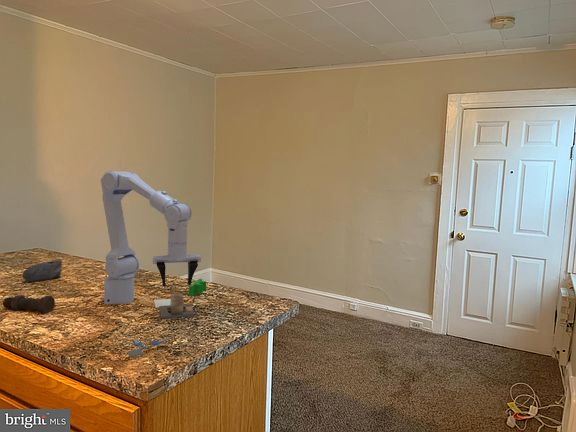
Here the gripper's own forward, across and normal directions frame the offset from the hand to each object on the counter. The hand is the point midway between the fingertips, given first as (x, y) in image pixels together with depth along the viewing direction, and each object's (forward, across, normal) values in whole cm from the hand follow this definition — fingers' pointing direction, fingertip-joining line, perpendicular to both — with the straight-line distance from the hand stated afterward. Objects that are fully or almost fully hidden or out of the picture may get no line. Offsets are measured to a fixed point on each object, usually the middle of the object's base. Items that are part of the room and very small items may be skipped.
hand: (176, 285), depth 132 cm
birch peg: (+9, 0, 0) cm, 9 cm away
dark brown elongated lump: (+10, -43, +15) cm, 47 cm away
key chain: (+10, -11, -21) cm, 26 cm away
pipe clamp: (+10, +10, +20) cm, 25 cm away
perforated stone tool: (+10, -45, +52) cm, 70 cm away
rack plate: (+9, 0, 0) cm, 9 cm away
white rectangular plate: (+9, -3, +10) cm, 14 cm away
